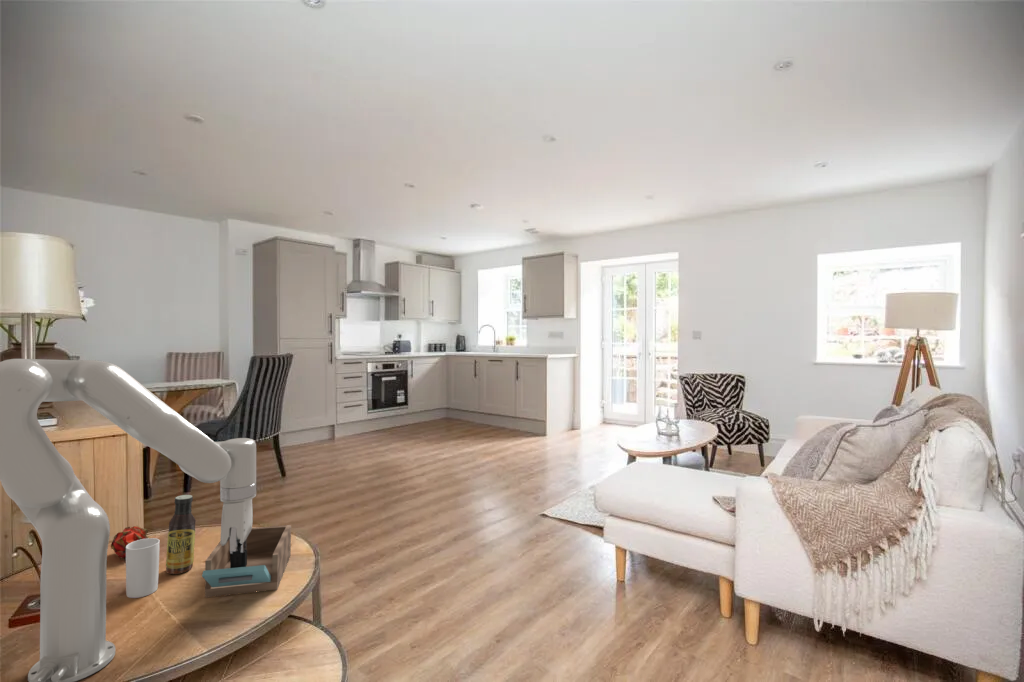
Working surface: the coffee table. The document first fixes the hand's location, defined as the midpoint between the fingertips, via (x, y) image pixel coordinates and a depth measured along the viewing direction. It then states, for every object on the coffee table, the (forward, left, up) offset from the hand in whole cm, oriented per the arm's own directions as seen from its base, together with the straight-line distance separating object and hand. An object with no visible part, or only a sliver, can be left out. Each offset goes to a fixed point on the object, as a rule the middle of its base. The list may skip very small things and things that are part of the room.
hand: (238, 567), depth 119 cm
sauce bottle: (+22, +19, -9) cm, 31 cm away
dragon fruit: (+35, +36, -9) cm, 51 cm away
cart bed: (+15, 0, -9) cm, 17 cm away
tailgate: (+5, 0, -6) cm, 8 cm away
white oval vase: (+13, +24, -9) cm, 29 cm away
